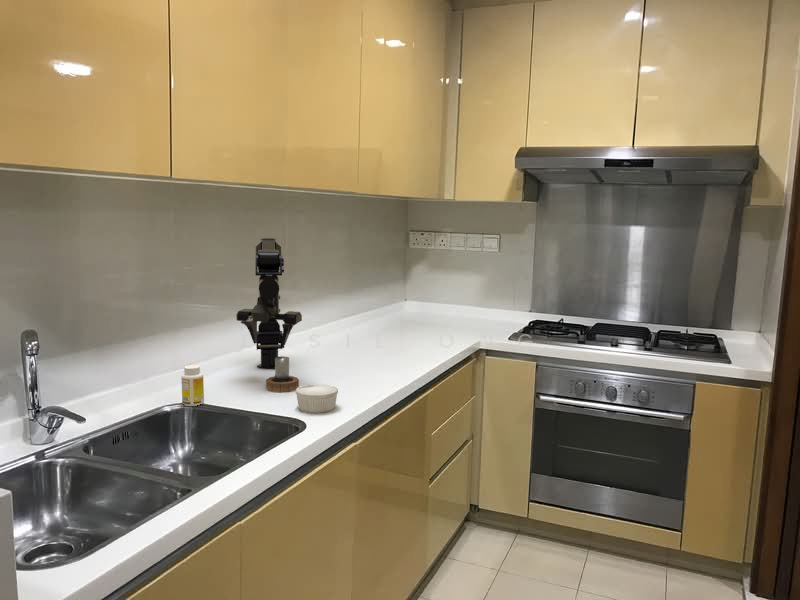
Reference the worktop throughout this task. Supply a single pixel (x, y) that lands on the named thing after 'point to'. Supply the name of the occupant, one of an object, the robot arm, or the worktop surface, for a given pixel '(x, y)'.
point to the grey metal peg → (282, 369)
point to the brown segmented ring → (282, 385)
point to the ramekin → (316, 398)
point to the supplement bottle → (192, 386)
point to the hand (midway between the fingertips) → (269, 344)
